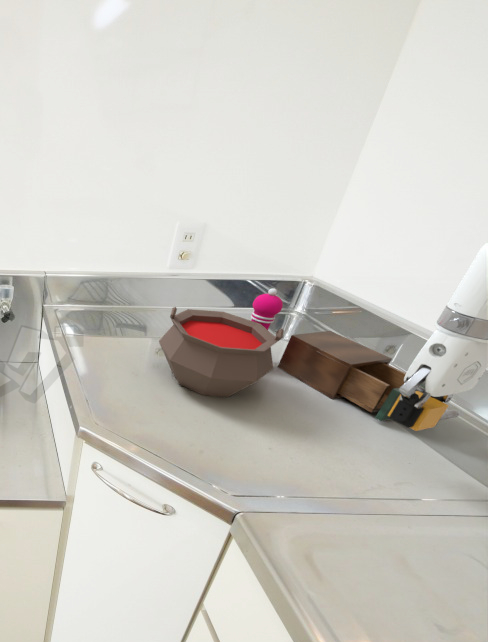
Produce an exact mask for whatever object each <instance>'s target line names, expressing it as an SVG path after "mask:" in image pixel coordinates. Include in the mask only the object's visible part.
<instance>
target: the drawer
mask: <svg viewBox="0 0 488 642" xmlns="http://www.w3.org/2000/svg"><path fill="white" fill-rule="evenodd" d="M405 374H406V372H405V371H403V370H401V369H398V368H396V367H394V366H391V365H390V364H389V365H388V364H385V363H378V364H371V365H364V366H357V367H352V368H351V370H350V372H349V374H348V375H347V377H346V379H345V381H344V383H343V385H342V386H341V388H340V390H339V392H338V394H340V395H341V396H343V398H345V399H347V400H348V401H350V402H351V403H353V404H356V405H357V406H359V407H361V408H362V409H364V410H366V411H367V412H369V413H376V415H375V417H374V418H375V420H377V421H379V422H383V421H389V420H392V419H391V418H390V417H389V416H388V414H389V412H390V410H391V409H392V407H393V405H394V404H395V402H396V401H397V399H398V397H399V396H400V394H401V393H400V391H399V388H400V387H401V386H402V385H403V384H404V383H405V382H404V377H405ZM420 387H422V388H425V385H423V384H421V385H420ZM415 391H417V390H415ZM458 416H459V412H458V411H457V410H454V409H451V410H449V409H448V408H447V409H446V411H445V412H444V414H443V415H442V416H441V418H440V419H439V421H438V422H441V421H445V420H449V419H453V418H454V419H455V418H457V417H458Z"/></svg>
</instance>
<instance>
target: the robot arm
mask: <svg viewBox="0 0 488 642" xmlns="http://www.w3.org/2000/svg"><path fill="white" fill-rule="evenodd" d="M434 327H435V328H436V329H435V331H433V333H432V334H431V336H430V337H429V338H428V339H427V341H426V342H425V344H424V345H423V346H422V348H421V349H420V350H419V352H418V353H417V354H416V356H415V357H414V359H413V361H412V363H411V364H410V366H409V367H408V369H407V370H406V372H405V373H406V374H405V377H404V382H405V383H404V384H403V385H402V386H401V387H400V388H399V391H400V393H401V396H400V398H399V399H400V400H399V402H398V403H397V405H396V407H395V408H394V410H393V412H392V413H391V415H390V418H391V419H390V420H393V421H394V422H397V423H399V425H402V426H404V427H406V428H407V429H411V428H410V427H413V425H414V424H415V422H416V421H417V419H418V417H419V416H420V414H421V413H422V411H423V410H424V409H423V408H421V407H422V406H423V405H424V404H425V402H426V401H427V400H428V399H429V398H430V397H432V398H435V399H437V400H439V401H441V402H443V403H445V404H448V403H449V402H450V401H451V400H452V398H453V396H454V395H456V394H460V393H465V392H468V391H471V390H473V389H474V388H475V387H476V386H477V384H478V383H479V381H480V379H481V378H482V376H483V374H484V373H485V371H486V370H487V369H488V242H486V243H484V244H483V245H482V246H481V247H480V249H479V251H478V252H477V254H476V256H475V257H474V258H473V260H472V262H471V264H470V266H469V267H468V269H467V270H466V272H465V274H464V275H463V277H462V279H461V280H460V282H459V283H458V286H457V287H456V289H455V290H454V292H453V294H452V296H451V297H450V299H449V300H448V302H447V304H446V305H445V307H444V309H443V310H442V312H441V314H439V317H438V319H437V320H436V322H435V324H434ZM421 384H423V385H425V388H422V387H420V385H421ZM415 390H417V391H419V392H421V393H423V395H422V396H421V397H420V398H419V396H418V394H416V393H415Z"/></svg>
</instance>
